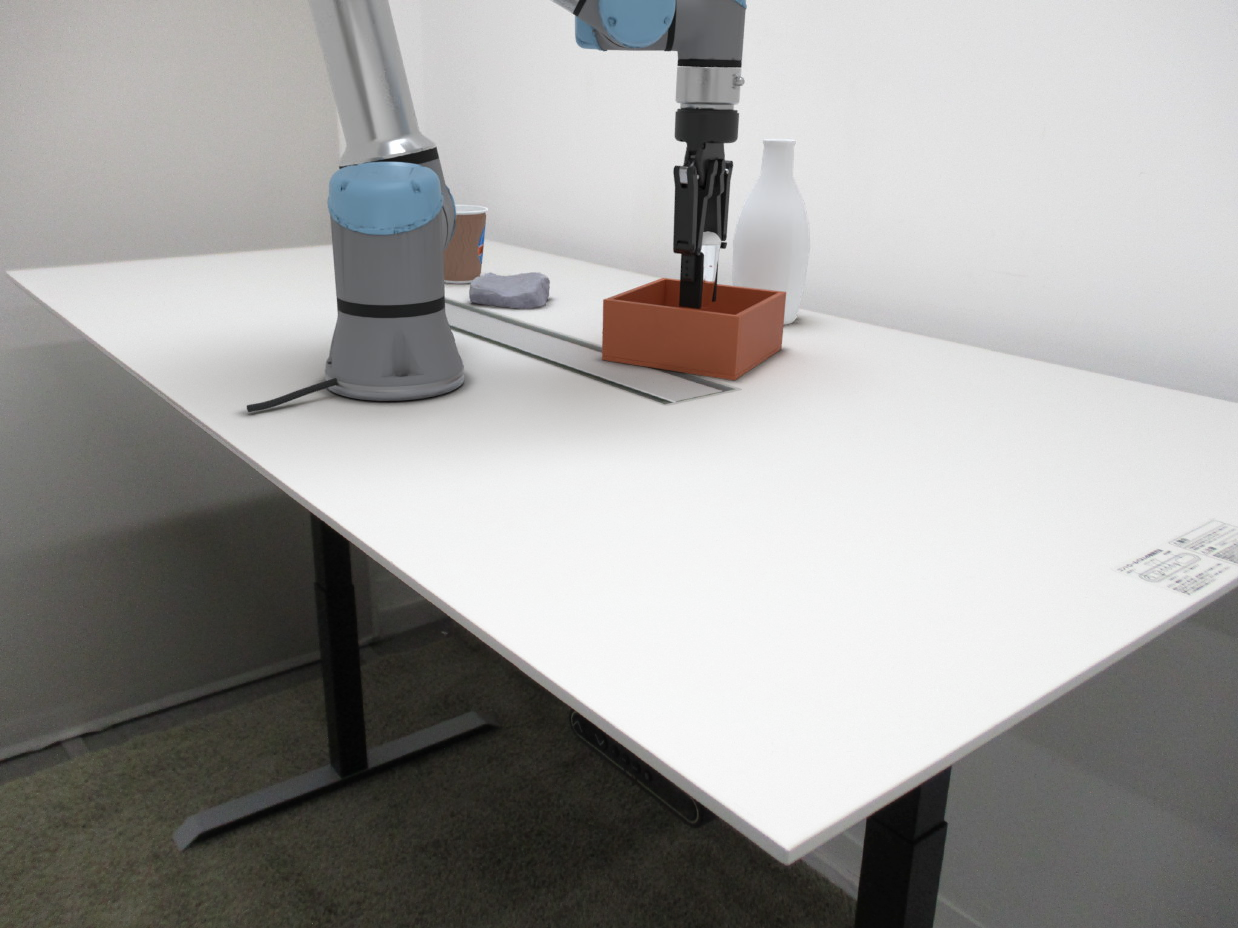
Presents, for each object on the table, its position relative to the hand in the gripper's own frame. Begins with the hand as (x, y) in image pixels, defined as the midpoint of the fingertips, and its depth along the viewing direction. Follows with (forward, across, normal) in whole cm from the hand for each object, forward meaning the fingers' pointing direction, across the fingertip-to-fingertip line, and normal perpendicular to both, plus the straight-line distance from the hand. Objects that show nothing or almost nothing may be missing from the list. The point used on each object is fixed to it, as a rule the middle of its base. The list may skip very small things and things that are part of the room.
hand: (697, 303), depth 127 cm
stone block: (+7, +14, +37) cm, 40 cm away
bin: (+7, 0, 0) cm, 7 cm away
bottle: (+7, +25, -1) cm, 26 cm away
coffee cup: (+7, +25, +54) cm, 60 cm away
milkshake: (0, 0, 0) cm, 1 cm away
